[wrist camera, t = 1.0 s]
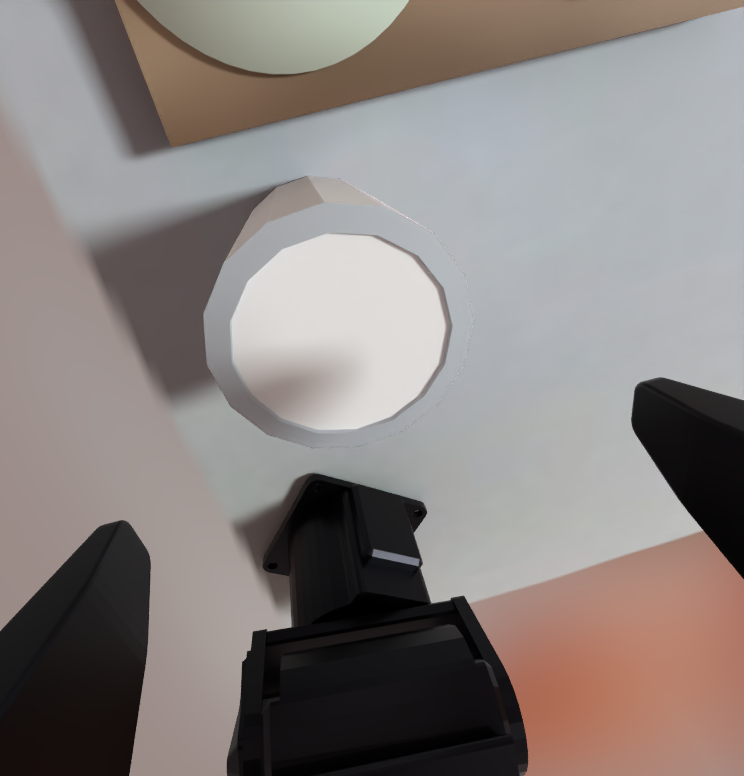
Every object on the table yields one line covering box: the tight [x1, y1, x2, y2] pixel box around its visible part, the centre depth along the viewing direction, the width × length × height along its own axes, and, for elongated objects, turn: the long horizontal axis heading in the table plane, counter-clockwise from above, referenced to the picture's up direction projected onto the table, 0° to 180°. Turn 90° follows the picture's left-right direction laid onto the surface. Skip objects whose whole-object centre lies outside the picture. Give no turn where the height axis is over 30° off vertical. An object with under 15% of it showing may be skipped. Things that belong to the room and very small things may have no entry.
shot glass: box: [203, 176, 474, 448], centre depth 16 cm, size 7×7×7 cm
